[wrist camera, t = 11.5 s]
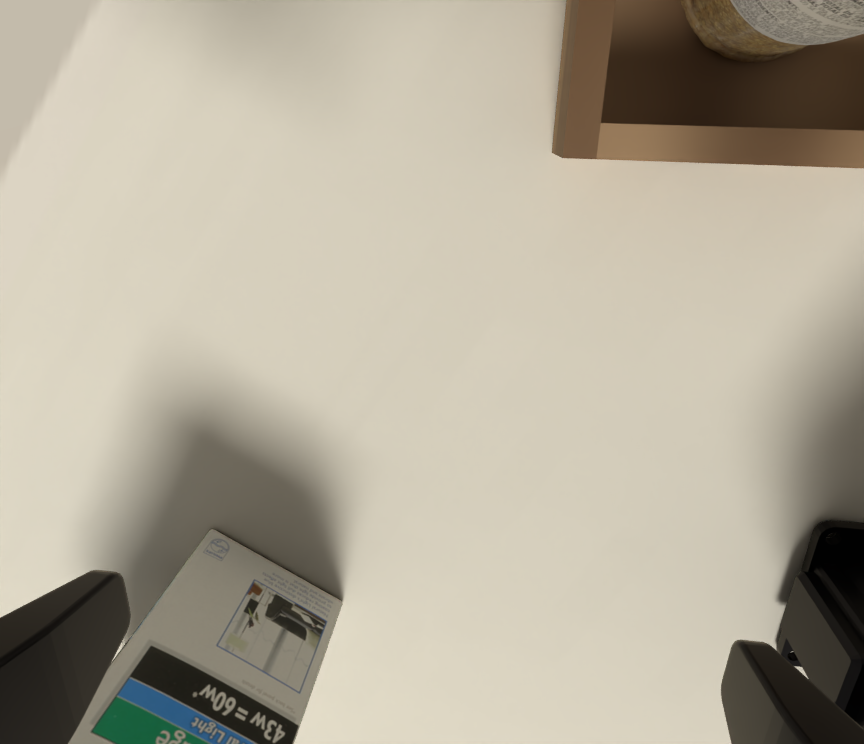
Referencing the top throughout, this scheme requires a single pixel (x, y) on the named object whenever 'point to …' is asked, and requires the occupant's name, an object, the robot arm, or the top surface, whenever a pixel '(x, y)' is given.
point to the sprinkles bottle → (771, 25)
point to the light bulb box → (217, 656)
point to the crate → (700, 94)
